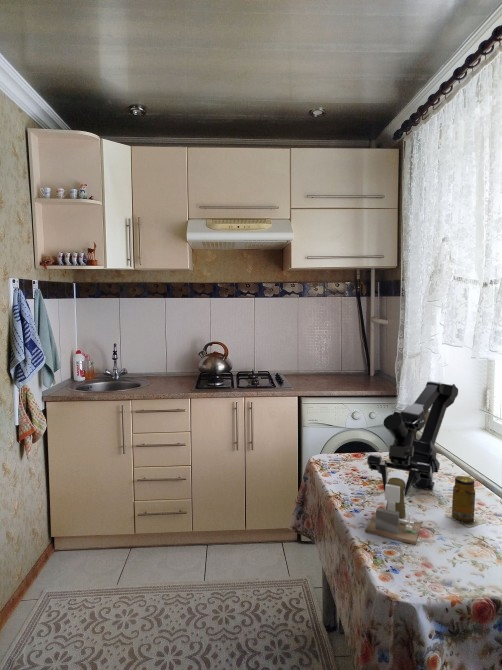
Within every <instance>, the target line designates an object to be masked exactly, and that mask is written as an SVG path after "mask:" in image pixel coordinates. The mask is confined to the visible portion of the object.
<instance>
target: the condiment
mask: <svg viewBox="0 0 502 670" xmlns="http://www.w3.org/2000/svg"><path fill="white" fill-rule="evenodd" d="M451 503H452V504H451V512H450V513H445V514H444V515H445V516H446V517H448V518H451V519H452V520H454V521H456V522H458V523H460V524H462V525H463V526H466V527H468V528H473V527H476V526H479V525H482V524H485V523H486V521H484V520H482V519H480V518H478V517H477V516H475V508H476V507H475V506H476V505H475V503H476V489H475V480H474V478H471V477H470V476H464V475H457V476H456V477H455V478H454V485H453V487H452V501H451Z"/></svg>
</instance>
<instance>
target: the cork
mask: <svg viewBox="0 0 502 670" xmlns="http://www.w3.org/2000/svg"><path fill="white" fill-rule="evenodd" d="M387 484H390V485H395V486H400V502H399V503H396V502H395V511H396V512H399V518H401V519H405V518H406V517H407V516H406V514H407V513H406V505H405V504H406V503H405V495H404V493H405V487H406V482H405V480H403V479H402V478H400V477H391V478H388V479H387ZM385 505H386V506H385V509H387V507H388V501H387V500H386V504H385Z"/></svg>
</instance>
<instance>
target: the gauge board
mask: <svg viewBox="0 0 502 670" xmlns="http://www.w3.org/2000/svg"><path fill="white" fill-rule="evenodd" d="M399 519H401V518H399V512H396V511H392V510H387V509H386V508H382V507H378V506H377V507H376V510H375V512H373V514H372V516H371V518H370V519H369V521H368V523H367V525H366V527H365V528H364V532H365V533H367V534H372V535H376V536H380V537H384V538H387V539H392V540H396V541H400V542H404V543H408V544H412V545H416V544H417V542H418V538H419V535H420V531H421V528H422V523H421V522H418V521H414V520H412V521H413V522H414V526H412V525H410V526H412V531H409V530H406V525H407V524H403V523H399ZM403 519H404V520H406V519H405V518H403Z"/></svg>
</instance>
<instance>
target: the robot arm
mask: <svg viewBox="0 0 502 670" xmlns="http://www.w3.org/2000/svg"><path fill="white" fill-rule="evenodd" d="M458 395H459V388H458V387H457V386H456V384H455V383H448V382H442V381H433V380H430V381H427V382H426V385H425V387H424V388H423V390H421V393H420V394H419V396H418V397H417V398H416V400H414V402H413V404H412V405H408V406H406V407H404V408H403V410H401V412H400V411H393V413H392V414H389V415H387V416H386V417H385V418H384V419H383V426H384V428H385V429H386V431H387V432H388V433H389V434H390V436H391V438H393V443H392V444H391V445H390V444H389V446H388V447H389V448H388V449H389V450H388V459H389V460H384V459H383V458H382V455H376V454H371V453H370V454H369V455H368V456H367V460H366V462H367V465H368V468H369V470H372V471H377V473H378V474H381V479H382V484H383V485H382V486H383V491H384V492H385V485H386V484H387V483H388V479H389V477H388V476H389V473H388V469H394V470H398V471H399V470H400V471H404V472H405V471H406V472H408V476H407V481H406V482H405V490H404V492H403V493H404V497H406V496H407V495H408V494H409V491H410V490H411V489H412V488H419V489H424V490H429V491H433V490H434V486H435V482H434V481H433V477H434V475H433V474H434V473H439V470H440V466H441V465H440V464H441V463H440V461H439V460H438V457H437V450H436V447H435V444H436V441H437V438H438V435H439V432H440V429H441V427H442V424H443V420H444V417H445V414H446V410H447V409H448V408H449V407H450V406H452V405H453V404H454V402H455V400H456V398H457V397H458ZM429 409H430V410H429ZM428 411H429V412H428ZM427 413H428V416H427V418H426V414H427ZM422 429H423V431H422V433H421V436H420V438H419V439H418V440H416V439H415V435H414V433H413V431H417V432H420V431H421V430H422ZM412 430H413V431H412Z"/></svg>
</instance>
